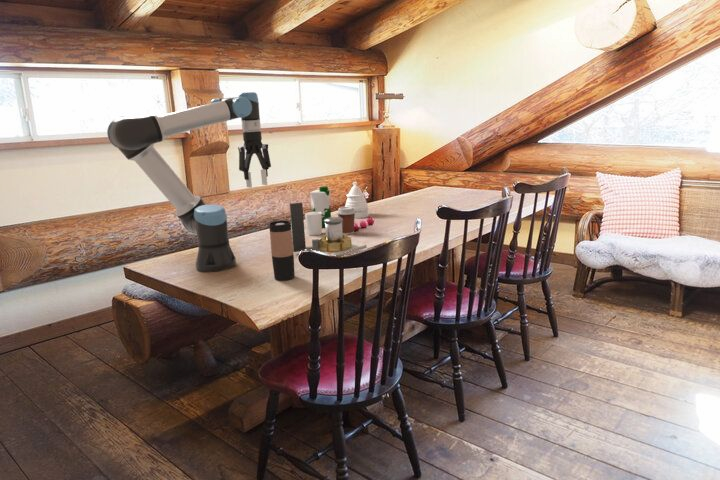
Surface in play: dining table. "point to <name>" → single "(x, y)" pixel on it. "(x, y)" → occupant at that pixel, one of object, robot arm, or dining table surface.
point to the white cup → (314, 223)
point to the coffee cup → (347, 219)
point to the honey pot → (357, 201)
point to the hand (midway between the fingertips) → (257, 185)
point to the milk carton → (321, 202)
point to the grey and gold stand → (320, 244)
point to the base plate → (354, 246)
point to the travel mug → (282, 250)
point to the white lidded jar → (333, 229)
